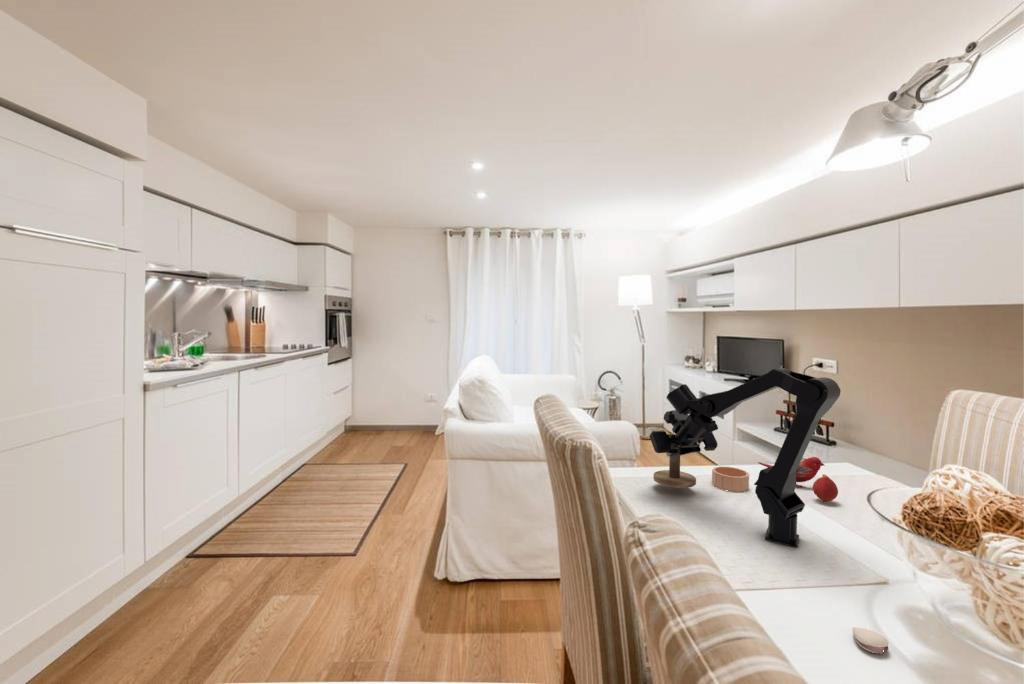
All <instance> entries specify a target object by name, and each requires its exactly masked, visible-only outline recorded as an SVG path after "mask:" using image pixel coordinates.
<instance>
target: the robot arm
mask: <svg viewBox="0 0 1024 684" xmlns="http://www.w3.org/2000/svg"><path fill="white" fill-rule="evenodd" d="M777 388H778V389H779V388H780V389H781V390H783V391H785V392H787V393H788V394H790V395H793V396H796V398H795V409H796V410H795V411H796V412H795V416H794V418H793V419H792V422H791V425H790V427H789V429H788V431H787V434H786V437H785V439H784V441H783V443H782V445H781V448H780V450H779V453H778V455H777V457H776V459H775V462H774V464H773V465H772V466H771V467H766V468H763V469H761V470H760V472H759V473H758V477H757V478H758V479H757V480H756V481H755V482H754V483H753V485H754V486H755V489H754V491H755V495H756V497H757V498H758V501H759V502H760V505H761V508H762V512H763V513H764V514H765V515H767V516H768V525H767V526H768V527H767V528H766V532H765V535H764V539H765V540H766V541H769V542H773V543H778V544H782V545H785V546H790V547H794V548H798V547H799V540H800V535H799V534H798V513H801V512H803V511H804V508H805V506H806V504H805V503H804V501H803V500H802V499H801V498H800V496H799V495H798V494H797V493H796V492H795V491H796V488H797V487H796V484H797V482H796V470H797V468H798V466H799V464H800V462H802V459H803V457H804V455H805V453H806V451H807V449H808V446H809V443H810V441H811V440H812V437H813V435H814V433H815V431H816V429H817V427H818V424H819V421H820V420H821V419H822V418H823V417H824V416H825V415H826V414H827V413H828V411H830V410H831V408H832V407H833V405H834V404H835V403H836V402H837V401H838V399H839V398H840V395H841V388H840V386H839V385H838V383H837V382H836V381H835V380H834V379H832V378H830V377H823V376H822V377H815V376H812V375H808V374H804V373H800V372H796V371H793V370H790V369H787V368H784V367H781V368H773V369H771V370H769V371H768V372H767V373H764V374H762V375H760V376H758V377H756V378H753V379H751V380H749V381H746V382H744V383H742V384H740V385H736V386H735V387H733V388H731V389H729V390H725V391H719V392H717V393H716V392H715V393H711V394H708V395H707V394H706V395H703V396H702V397H700V398H698V397H697V396H696V395H695V394H694V393H693V391H692V390H691V389H690V388H689V386H688V385H687V384H681V385H679V387H676V388H674V390H671V391H669V393H667V395H666V400H667V401H668V402H669V403H670V405H671V406H672V407H673V408H674V410H667V411H666V412H665V413H664V415H663V420H664V422H665V423H666V424H668V425H669V424H670V425H671V426H672V428H671V430H672V433H673V434H671V433H670V434H669V433H668V434H667V431H665V430H651V433H650V434H649V438H650V441H651V445H652V448H653V450H654V452H655V453H656V454H666V456H667V458H668V457H669V458H670V456H672V455H674V454H676V453H678V451H677V448H678V446H680V457H681V456H685V455H689V454H695V453H700V452H701V451H702V450H701V444H702V443H703V444H704V447H703V449H704V451H706V452H709V451H713V452H714V451H716V449H717V447H718V441H717V439H716V437H715V435H714V433H713V432H715V431H717V430H718V429H719V426H718V424H717V422H716V420H714V419H713V418H715V417H721V416H725V415H727V414H729V413H730V412H732V411H734V409H736V408H738V406H739V405H740V404H742V403H743V402H747V401H748V400H751V399H753V398H756V397H759V396H761V395H764V394H765V393H768V392H770V391H773V390H775V389H777Z"/></svg>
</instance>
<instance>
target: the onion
mask: <svg viewBox="0 0 1024 684" xmlns="http://www.w3.org/2000/svg"><path fill="white" fill-rule="evenodd" d="M812 491H813V493H814V495H815V496H816V497H817V498H818V499H819V500H820V501H821V502H822V503H824V502H827V503H828V502H831V501H834V500H835V499H836V498H837V497H838V494H839V489H838V486H837V484H836V482H834V481H833V479H831V478H830V477H829V476H828V475H827V474H826V473H825V474H822V477H819V478H817V479H816V480H815V481H814V482H813V483H812Z"/></svg>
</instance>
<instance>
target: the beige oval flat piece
mask: <svg viewBox="0 0 1024 684" xmlns="http://www.w3.org/2000/svg"><path fill="white" fill-rule="evenodd" d="M851 630H852V634H853V637H854V640H855V641H856V642H857V644H858V645H859V647H861V648H862V649H864V650H865V651H867V652H869V653H871V652H872V654H874V653H877V654H878V653H880V654H878V655H883V654H884V653H887V652H888V651H889V645H890V644H889V641H888V639H887V638H886V637H884V636H883V635H882V634H880V633H878V632H877V631H874V630H871V629H867V628H861V627H852V629H851ZM883 650H884V652H883ZM882 652H883V653H882ZM877 654H876V655H877Z"/></svg>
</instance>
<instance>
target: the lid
mask: <svg viewBox="0 0 1024 684" xmlns="http://www.w3.org/2000/svg"><path fill="white" fill-rule="evenodd" d="M677 451H678V453H676V454H674V455H672V456H669V465H668V466H669V467H668V468H669V469H664V470H663V469H662V470H658V471H655V472H654V473H653V481H654V482H656V483H657V484H659V485H662V486H666V487H670V488H679V489H686V488H693V487H695V486H696V485H697V477H695V475H693V474H691V473H689V472H685V471H681V456H680V446H678V448H677Z"/></svg>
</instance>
